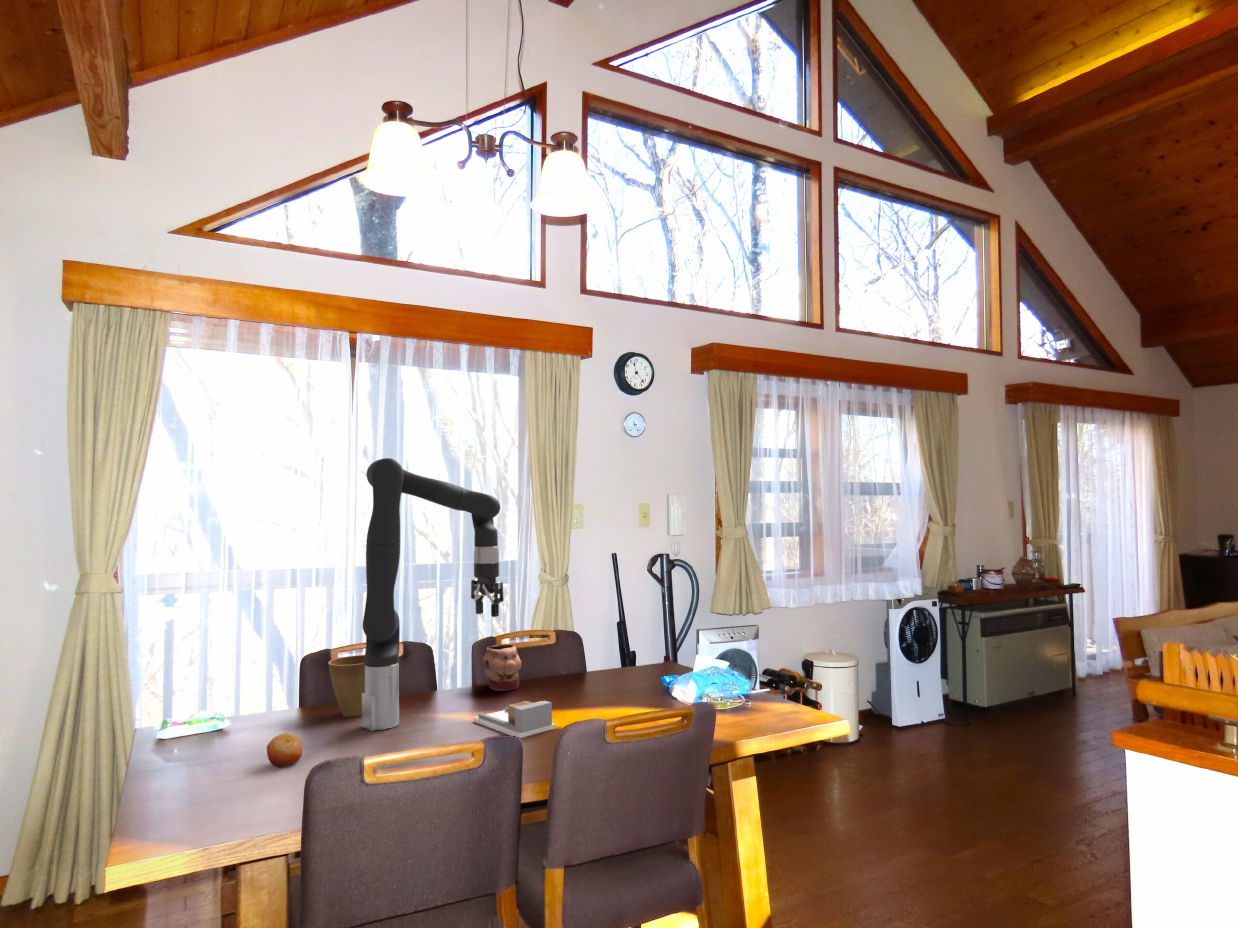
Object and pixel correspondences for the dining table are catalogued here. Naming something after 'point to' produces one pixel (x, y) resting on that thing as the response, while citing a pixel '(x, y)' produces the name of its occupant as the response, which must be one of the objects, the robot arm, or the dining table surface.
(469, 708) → the dining table surface
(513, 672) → the decorative planter
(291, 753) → the fruit
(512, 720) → the block
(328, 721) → the dining table surface
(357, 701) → the plant pot
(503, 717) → the base
